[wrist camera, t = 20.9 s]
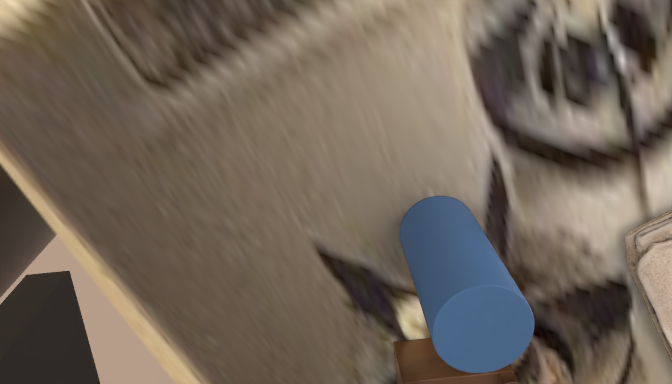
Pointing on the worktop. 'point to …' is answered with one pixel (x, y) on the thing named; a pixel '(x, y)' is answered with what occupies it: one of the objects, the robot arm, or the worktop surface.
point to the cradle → (438, 367)
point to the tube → (464, 288)
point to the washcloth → (654, 271)
